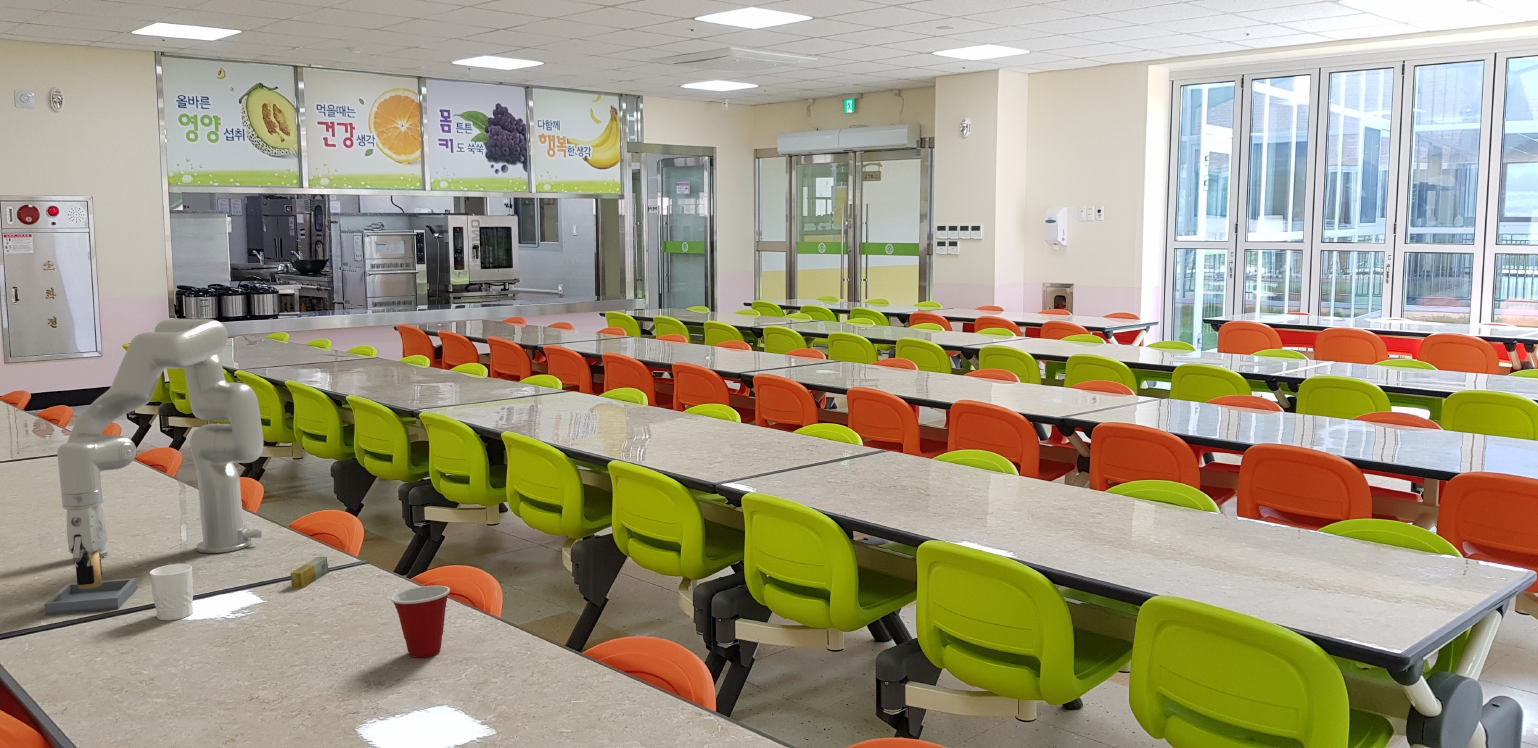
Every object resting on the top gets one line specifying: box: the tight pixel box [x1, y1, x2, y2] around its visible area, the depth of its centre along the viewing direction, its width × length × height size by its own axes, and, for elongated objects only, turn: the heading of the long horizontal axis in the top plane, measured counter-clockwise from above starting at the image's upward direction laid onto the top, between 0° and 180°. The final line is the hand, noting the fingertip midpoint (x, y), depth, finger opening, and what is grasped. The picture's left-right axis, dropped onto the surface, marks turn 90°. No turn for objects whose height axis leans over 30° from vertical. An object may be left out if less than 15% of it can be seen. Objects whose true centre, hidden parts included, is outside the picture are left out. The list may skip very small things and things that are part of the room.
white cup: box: [149, 563, 194, 621], centre depth 240 cm, size 8×8×10 cm
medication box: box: [290, 556, 330, 589], centre depth 263 cm, size 12×3×4 cm, turn 173°
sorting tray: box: [43, 577, 138, 616], centre depth 250 cm, size 14×14×2 cm
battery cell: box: [78, 551, 103, 589], centre depth 249 cm, size 4×4×8 cm
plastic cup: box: [390, 585, 451, 659], centre depth 216 cm, size 11×11×12 cm
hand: (90, 579), depth 249 cm, fingers closed on battery cell, 4 cm apart
